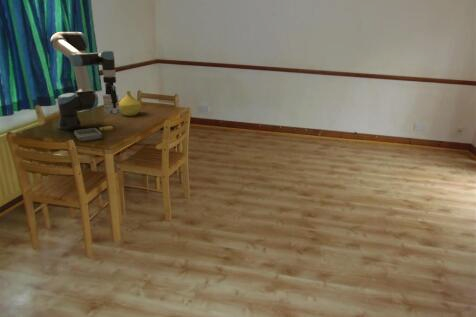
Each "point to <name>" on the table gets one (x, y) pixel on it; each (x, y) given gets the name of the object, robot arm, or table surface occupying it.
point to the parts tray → (87, 134)
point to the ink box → (109, 104)
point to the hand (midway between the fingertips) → (112, 111)
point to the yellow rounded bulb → (129, 105)
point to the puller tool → (106, 128)
